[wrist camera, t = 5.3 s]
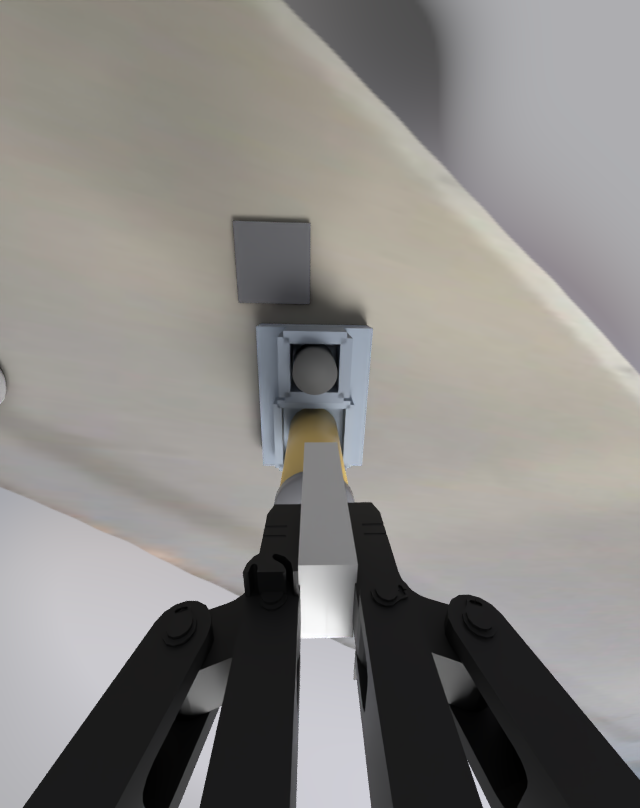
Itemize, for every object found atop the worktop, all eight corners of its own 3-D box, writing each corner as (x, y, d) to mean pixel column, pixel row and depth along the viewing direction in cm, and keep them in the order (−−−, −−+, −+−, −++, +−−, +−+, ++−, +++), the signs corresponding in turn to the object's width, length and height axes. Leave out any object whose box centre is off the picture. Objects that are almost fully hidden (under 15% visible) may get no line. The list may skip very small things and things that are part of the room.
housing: (260, 322, 30) (247, 330, 24) (367, 324, 31) (382, 332, 24) (266, 451, 36) (257, 487, 29) (357, 452, 36) (368, 487, 30)
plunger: (295, 341, 28) (292, 350, 23) (333, 341, 28) (338, 351, 23) (295, 378, 29) (292, 394, 24) (332, 378, 29) (336, 395, 24)
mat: (234, 222, 27) (232, 220, 27) (310, 224, 28) (310, 223, 27) (239, 302, 30) (238, 302, 29) (309, 304, 30) (309, 304, 29)
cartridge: (287, 404, 31) (271, 478, 18) (339, 405, 31) (358, 478, 19) (288, 451, 32) (274, 546, 20) (337, 451, 33) (353, 545, 20)
